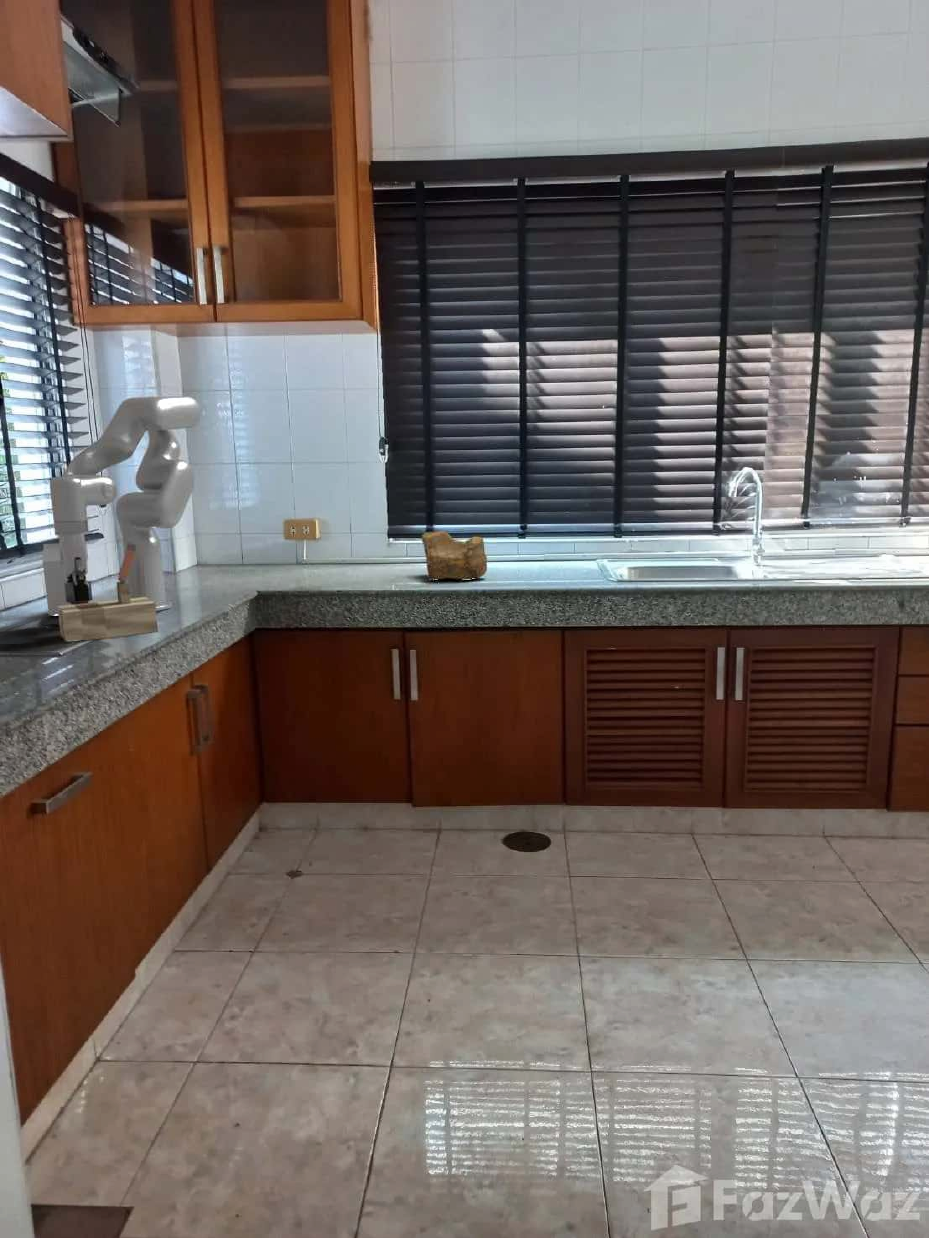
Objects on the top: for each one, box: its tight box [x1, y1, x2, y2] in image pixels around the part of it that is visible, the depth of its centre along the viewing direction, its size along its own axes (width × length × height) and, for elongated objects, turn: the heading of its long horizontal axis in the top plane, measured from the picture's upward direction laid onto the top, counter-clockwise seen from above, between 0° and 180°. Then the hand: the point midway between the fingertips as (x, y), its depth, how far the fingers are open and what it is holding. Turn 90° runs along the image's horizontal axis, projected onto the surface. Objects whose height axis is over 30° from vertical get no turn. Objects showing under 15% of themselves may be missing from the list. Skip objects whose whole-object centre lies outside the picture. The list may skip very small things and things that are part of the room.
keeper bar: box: [117, 542, 137, 583], centre depth 201 cm, size 5×10×1 cm
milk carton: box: [41, 543, 71, 616], centre depth 223 cm, size 7×7×19 cm
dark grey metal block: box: [64, 580, 94, 605], centre depth 209 cm, size 6×6×11 cm
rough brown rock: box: [421, 530, 488, 580], centre depth 272 cm, size 23×17×15 cm
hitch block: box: [58, 581, 159, 643], centre depth 200 cm, size 10×20×12 cm, turn 123°
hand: (78, 598), depth 208 cm, fingers open, 8 cm apart
